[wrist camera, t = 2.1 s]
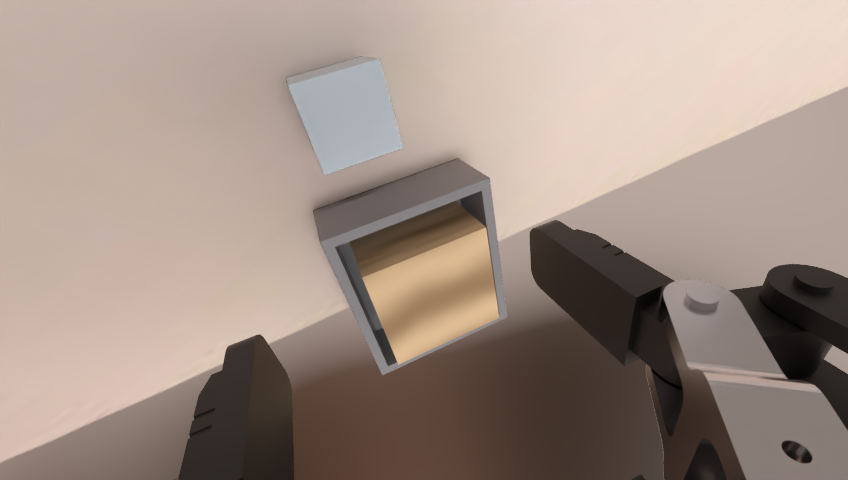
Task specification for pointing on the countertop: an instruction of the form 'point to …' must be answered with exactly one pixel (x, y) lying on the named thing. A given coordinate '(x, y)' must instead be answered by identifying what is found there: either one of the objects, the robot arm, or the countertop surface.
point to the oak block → (428, 278)
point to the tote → (393, 207)
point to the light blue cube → (346, 112)
